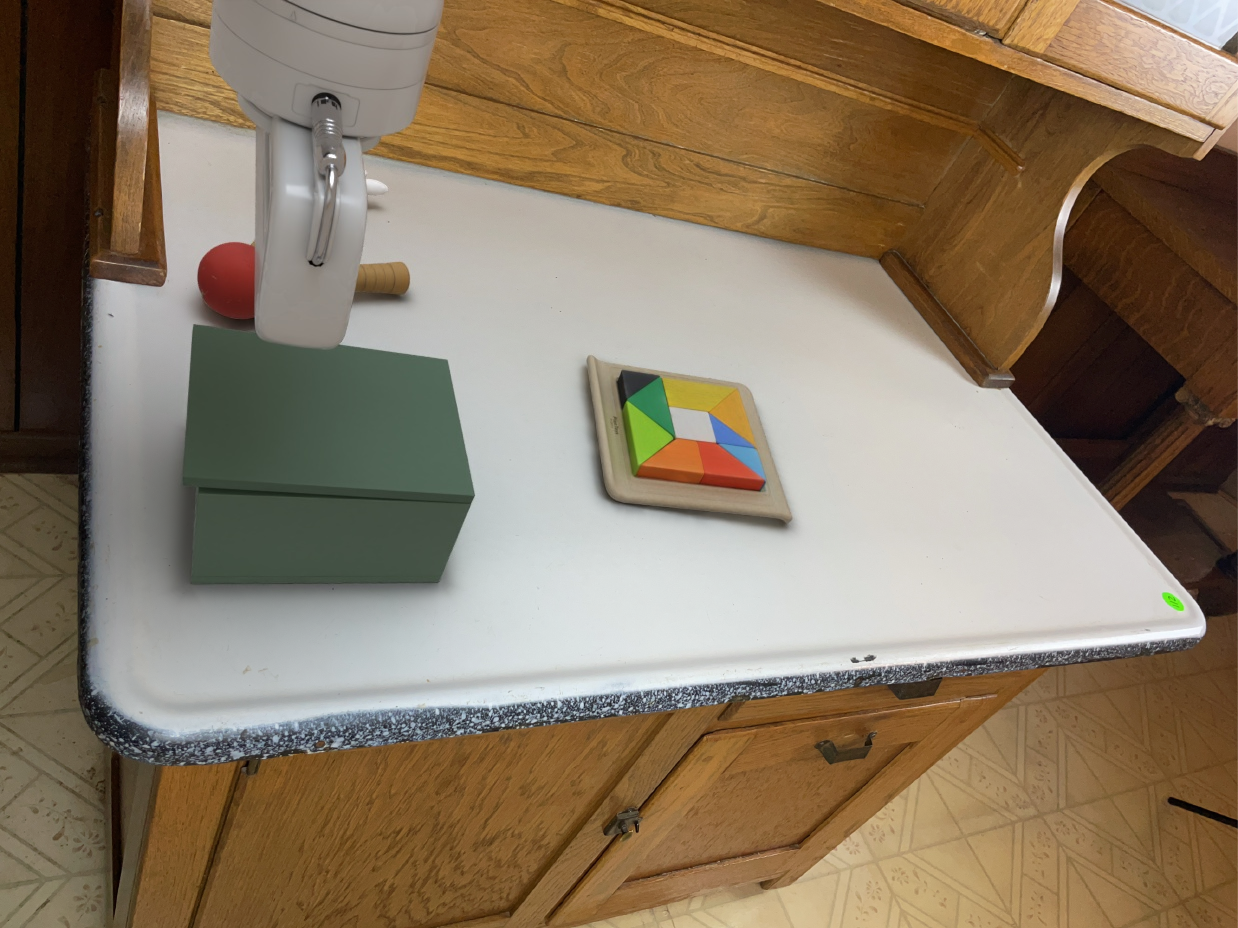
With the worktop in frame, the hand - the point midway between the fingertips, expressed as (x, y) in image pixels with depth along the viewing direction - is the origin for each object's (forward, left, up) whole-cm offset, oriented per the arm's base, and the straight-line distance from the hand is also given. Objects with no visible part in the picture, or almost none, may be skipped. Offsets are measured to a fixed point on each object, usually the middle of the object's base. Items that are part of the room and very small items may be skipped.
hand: (279, 294), depth 46 cm
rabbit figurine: (+9, +39, -19) cm, 44 cm away
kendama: (+4, +23, -19) cm, 30 cm away
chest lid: (+4, 0, -9) cm, 10 cm away
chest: (+4, 0, -19) cm, 19 cm away
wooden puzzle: (+37, +9, -19) cm, 43 cm away
